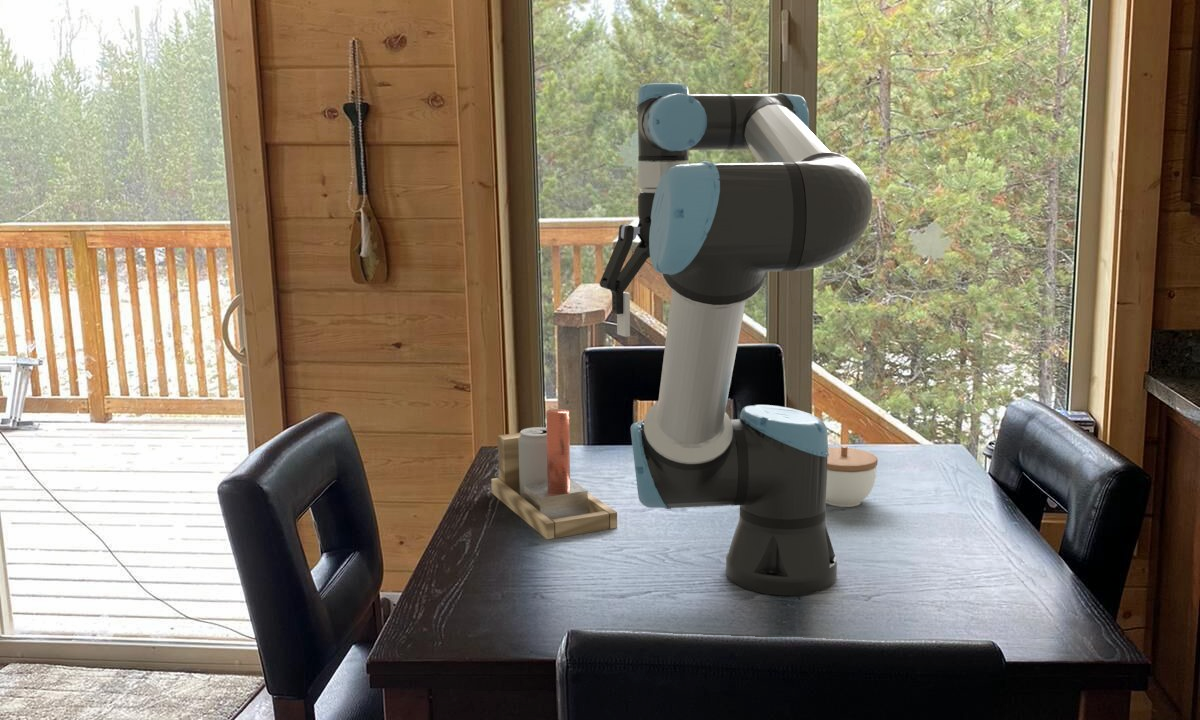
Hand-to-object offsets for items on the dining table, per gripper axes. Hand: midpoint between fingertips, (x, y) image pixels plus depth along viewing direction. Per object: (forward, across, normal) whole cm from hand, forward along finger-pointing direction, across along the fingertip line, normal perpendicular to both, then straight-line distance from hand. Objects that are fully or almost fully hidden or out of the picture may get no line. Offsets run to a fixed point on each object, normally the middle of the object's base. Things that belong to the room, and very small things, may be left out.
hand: (663, 332), depth 170 cm
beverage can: (+30, +13, -20) cm, 38 cm away
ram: (+30, +13, -12) cm, 35 cm away
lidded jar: (+31, -32, +4) cm, 44 cm away
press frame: (+30, +13, -14) cm, 36 cm away
